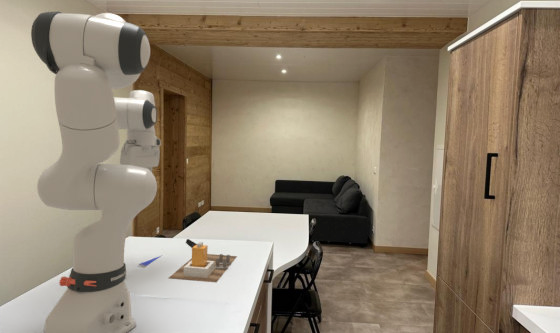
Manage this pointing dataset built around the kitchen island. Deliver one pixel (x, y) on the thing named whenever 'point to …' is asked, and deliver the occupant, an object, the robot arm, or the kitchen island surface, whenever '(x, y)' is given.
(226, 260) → the board
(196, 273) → the end holder
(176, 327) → the kitchen island surface
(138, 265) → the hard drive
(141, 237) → the kitchen island surface
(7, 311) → the kitchen island surface
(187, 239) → the electric trimmer
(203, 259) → the connector plug
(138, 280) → the kitchen island surface
